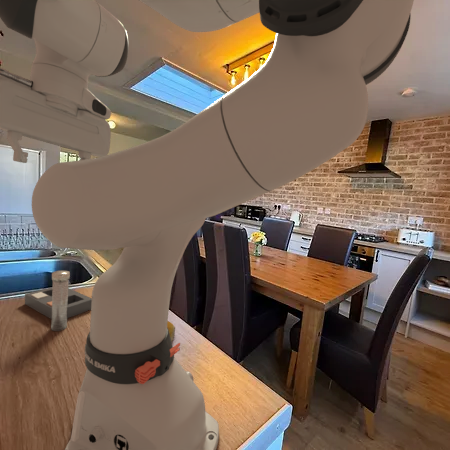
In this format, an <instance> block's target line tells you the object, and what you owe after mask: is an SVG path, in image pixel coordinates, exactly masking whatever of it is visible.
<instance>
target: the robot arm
mask: <svg viewBox="0 0 450 450" xmlns="http://www.w3.org/2000/svg"><path fill="white" fill-rule="evenodd" d="M138 1H139V2H141V3H142V4H144V5H146V6H147V7H149V8H150V9H152V10H154V11H155V12H157V13H158V14H160V15H161V16H162V17H164V18H165V19H167V20H168V21H170V23H172V24H174V25H176V26H177V27H179V28H181V29H182V30H183V29H184V30H186V31H187V32H188V31H189V32H193V33H209V32H216V31H220V30H223V29H225V28H228V27H230V26H232V25H235V24H237V23H239V22H241V21H244V20H246V19H248V18H250V17H253V16H255V15H257V14H259V20H260V23H261V24H262V25H263V27H265V28H266V29H268V30H269V31H271V32H273V33H275V39H274V43H273V48H272V49H271V52H270V54H269V55H268V58H267V59H266V61H265V63H263V65H262V66H260V68H259V69H258V70H257V71H255V72H254V73H253V74H252V75H251V76H249V78H247V79H246V80H244V81H242V82H241V83H240V84H238V85H236V86H235V87H234V88H232V89H231V90H230V91H228V92H227V93H225V94H223V95H222V96H221V97H220V98H218V99H217V100H215V101H214V102H213V103H211V104H209V105H208V106H207V107H205V108H204V109H203V110H201V111H200V112H198V113H196V114H195V115H193V116H192V117H191V118H189V119H188V120H187V121H185V122H184V123H182V124H180V125H179V126H177V128H175V129H173V130H171V131H169V132H168V133H165V134H164V135H162V136H159V137H157V138H156V137H155V138H153V139H151V140H149V141H146V142H144V143H140V144H138V145H135V146H132V147H129V148H125V149H123V150H119V151H116V152H112V153H110V147H111V139H112V138H111V137H112V136H111V135H112V134H111V126H110V123H109V122H108V121H107V120H110V118H111V115H112V111H111V109H110V108H109V107H108V106H107V105H106V104H105V103H103V102H102V101H101V100H100V99H99V98H97V97H96V96H95V95H94V94H93V93H92V92H91V91H90V90H89V78H90V77H91V76H95V77H98V78H100V77H101V78H106V77H111V76H114V75H116V74H119V73H120V72H122V70H124V67H125V65H126V63H127V60H128V57H129V56H128V55H129V48H130V45H129V36H128V33H127V32H128V31H127V30H126V27H125V26H124V24H123V23H122V22H121V21H120V20H119V19H118V18H117V17H116V16H115V15H113V14H112V13H111V12H110V11H109V10H108V9H106V8H105V7H104V6H103V5H102V4H100V3H99V2H98V1H97V0H0V20H1V21H2V22H3V24H4V25H5V27H6V28H8V29H10V30H12V31H14V32H16V33H19V34H20V35H22V36H24V37H26V38H28V39H33V40H34V47H35V56H34V59H33V61H32V63H31V68H30V78H29V79H28V78H25V77H23V76H21V75H19V74H18V75H17V74H14V73H12V72H10V71H9V70H7V69H4V68H2V67H0V130H1V131H4V132H7V133H6V140H7V141H8V143H9V145H10V148H11V149H12V151H13V157H12V160H13V161H14V162H18V163H23V164H27V163H28V159H29V158H28V157H29V152H26V151H23V149H22V147H21V144H20V143H19V142H20V141H22V139H23V137H25V138H29V139H32V140H36V141H40V142H43V143H46V144H50V145H54V146H58V147H61V148H65V149H69V150H71V151H76V152H78V158H80V159H79V160H73V161H72V160H71V161H61V162H56V163H55V164H52V165H51V166H50V167H48V169H47V170H45V171H44V172H43V173H42V174H41V176H40V177H39V178H38V180H37V182H36V183H35V187H34V189H33V191H32V195H31V196H32V197H31V212H32V217H33V219H34V222H35V224H36V226H37V228H38V230H39V231H40V232H41V234H42V235H43V236H44V237H45V238H46V239H47V240H48V241H49V242H50V243H52V244H53V245H54V246H55V247H58V248H63V249H70V250H71V249H72V250H83V251H84V250H85V251H86V250H87V251H108V250H115V249H121V248H122V252H121V253H120V255H119V256H118V258H117V259H116V261H115V262H114V263H113V264H112V265H111V266H109V268H108V269H107V270H105V271H104V272H103V273H102V274H101V275H100V276H99V277H98V279H97V280H96V282H95V283H94V285H93V289H92V292H91V298H92V303H91V310H90V324H89V326H90V328H89V332H88V334H87V337H86V340H85V341H86V342H85V345H84V355H85V356H84V364H85V367H86V371H85V373H84V377H83V379H82V382H81V386H80V388H79V391H78V394H77V398H76V404H75V411H74V417H73V424H72V430H71V436H70V440H69V441H68V443H67V444H66V447H65V449H64V450H217V449H218V448H217V447H218V445H219V437H220V431H219V430H220V429H219V428H220V425H219V422H218V421H217V420H216V419H215V418H214V417H213V416H212V415H211V414H209V412H207V411H206V402H205V398H204V395H203V394H204V393H203V392H202V390H201V389H200V388H199V387H198V385H196V383H195V382H194V376H193V374H192V372H190V371H188V370H185V369H184V367H183V365H181V364H180V363H179V361H178V360H177V358H176V357H175V354H177V353H178V352H179V351H180V348H179V347H180V345H181V343H180V342H179V343H177V344H175V345H173V341H171V338H170V334H169V330H168V328H167V322H168V321H169V320H168V318H169V310H170V301H171V295H172V294H171V293H172V287H173V283H174V280H175V276H176V274H177V270H178V267H179V265H180V262H181V260H182V258H183V255H184V253H185V250H186V249H187V246H188V245H189V243H190V241H191V240H192V238H193V237H194V236H195V234H196V233H197V232H198V231H199V230H200V229H201V228H202V226H203V225H204V223H205V221H206V219H207V218H212V217H214V216H217V215H219V214H221V213H224V212H226V211H228V210H230V209H233V208H235V207H238V206H240V205H243V204H244V203H247V202H249V201H251V200H253V199H256V198H258V197H260V196H263V195H265V194H267V193H269V192H272V191H275V190H277V189H279V188H280V187H283V186H285V185H287V184H289V183H291V182H293V181H295V180H297V179H299V178H301V177H303V176H305V175H306V174H308V173H309V172H312V171H313V170H315V169H317V168H319V167H320V166H322V165H323V164H325V163H326V162H328V161H330V160H331V159H333V158H334V157H336V156H337V155H339V154H340V153H341V152H343V151H344V150H345V149H347V148H348V147H350V146H351V145H352V144H354V143H355V141H357V139H358V138H359V137H360V136H361V134H362V132H363V130H364V128H365V125H366V123H367V119H368V113H369V96H368V95H369V94H368V88H367V85H369V84H370V83H372V82H374V81H375V80H377V78H379V77H380V76H381V75H383V74H384V72H385V71H386V70H387V69H389V66H391V65H392V63H393V61H394V60H395V59H396V57H397V55H398V54H399V52H400V51H401V49H402V46H403V44H404V42H405V41H406V37H407V35H408V32H409V29H410V24H411V12H412V9H413V4H414V1H415V0H138ZM109 153H110V154H109ZM91 156H93V157H94V158H91Z"/></svg>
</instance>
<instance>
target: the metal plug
mask: <svg viewBox="0 0 450 450" xmlns="http://www.w3.org/2000/svg"><path fill="white" fill-rule="evenodd" d="M70 272H71V271H69V270H56V271H53V272H51V280H52V287H53V291H52V319H51V323H50V324H51V325H50V327H51V329H50V330H51V331H53V332H59V331H63V330H65V329H66V328H67V327H68V318H67V306H68V288H69V280H70V278H71V276H70V275H71V273H70Z"/></svg>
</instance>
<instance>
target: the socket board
mask: <svg viewBox="0 0 450 450" xmlns="http://www.w3.org/2000/svg"><path fill="white" fill-rule="evenodd" d="M52 291H53V286H52V287H48V288H44V289H41V290H35V291H32V292H28V293H24V305H26V306H28V307H29V308H31V309H33V310H35V311H36V312H38V313H40V314H42V315H43V316H45V317H46V318H48V319H50V320H52ZM91 303H92V297H89V296H87V295H85V294H82V293H81V292H78V291H75V290H74V289H71V288H70V287H68V306H67V319H69V318H71V317H74V316H77V315H80V314H83V313H85V312H89V311H91ZM88 310H89V311H88Z"/></svg>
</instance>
